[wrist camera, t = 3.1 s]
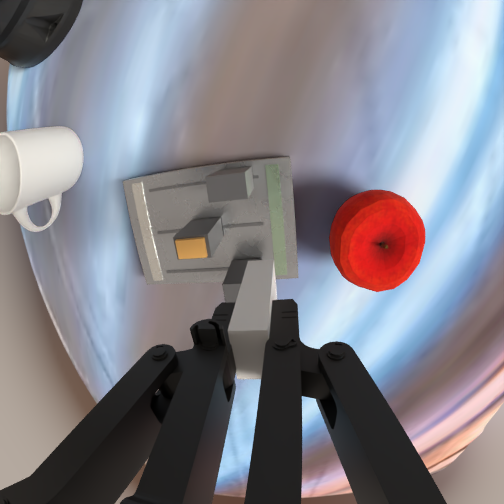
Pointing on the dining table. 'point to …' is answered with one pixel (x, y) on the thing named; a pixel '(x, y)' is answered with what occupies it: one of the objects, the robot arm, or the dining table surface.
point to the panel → (198, 207)
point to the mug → (37, 170)
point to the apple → (377, 240)
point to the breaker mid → (198, 239)
